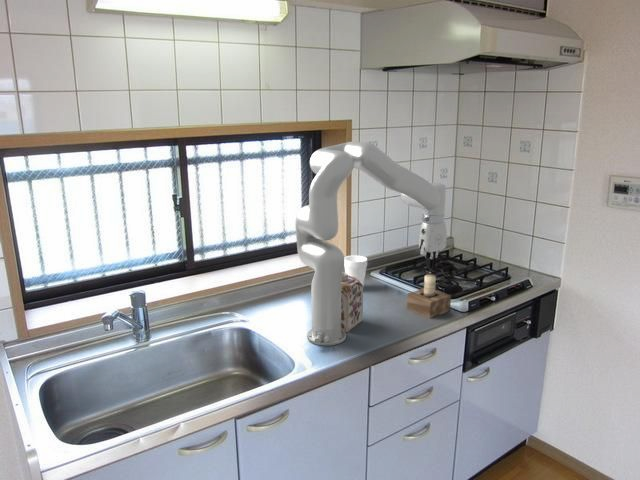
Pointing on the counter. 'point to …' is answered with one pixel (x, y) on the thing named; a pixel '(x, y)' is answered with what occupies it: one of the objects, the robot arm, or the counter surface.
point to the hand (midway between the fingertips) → (430, 268)
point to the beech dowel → (429, 285)
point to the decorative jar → (351, 302)
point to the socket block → (428, 303)
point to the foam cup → (356, 267)
